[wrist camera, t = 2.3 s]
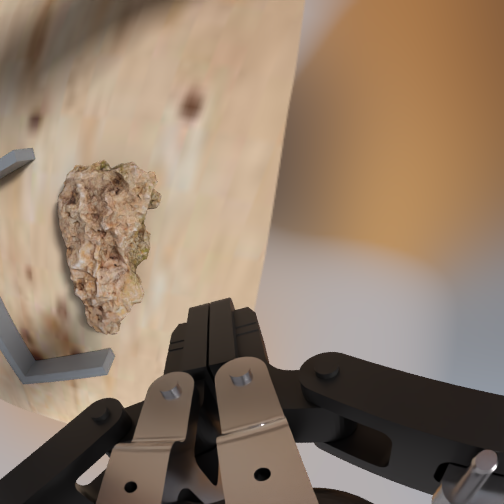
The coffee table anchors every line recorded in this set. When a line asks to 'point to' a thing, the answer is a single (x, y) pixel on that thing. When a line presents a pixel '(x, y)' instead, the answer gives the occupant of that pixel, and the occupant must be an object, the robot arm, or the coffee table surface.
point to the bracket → (12, 345)
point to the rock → (106, 237)
